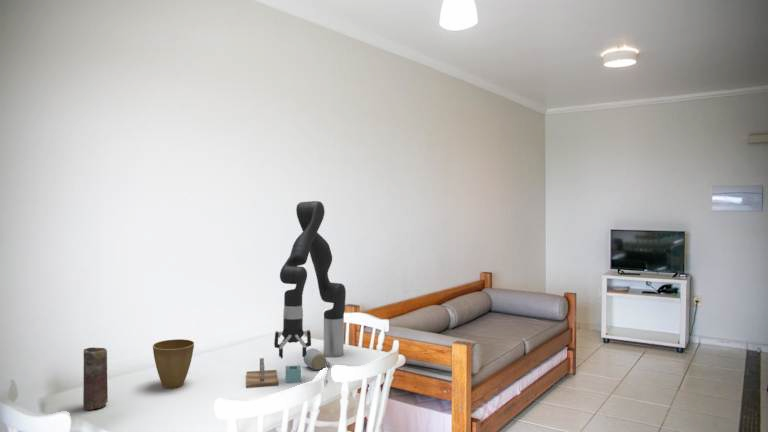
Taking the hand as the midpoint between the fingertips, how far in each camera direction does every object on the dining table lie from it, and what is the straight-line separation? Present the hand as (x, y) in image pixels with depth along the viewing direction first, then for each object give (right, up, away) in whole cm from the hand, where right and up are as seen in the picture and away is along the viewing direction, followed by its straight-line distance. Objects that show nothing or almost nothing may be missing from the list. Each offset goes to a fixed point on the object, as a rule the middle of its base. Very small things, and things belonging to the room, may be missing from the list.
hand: (292, 357), depth 214 cm
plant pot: (-44, -9, -7) cm, 46 cm away
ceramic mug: (+8, -9, +17) cm, 21 cm away
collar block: (0, -9, 0) cm, 9 cm away
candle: (-63, -10, -29) cm, 70 cm away
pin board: (-12, -9, 0) cm, 15 cm away
